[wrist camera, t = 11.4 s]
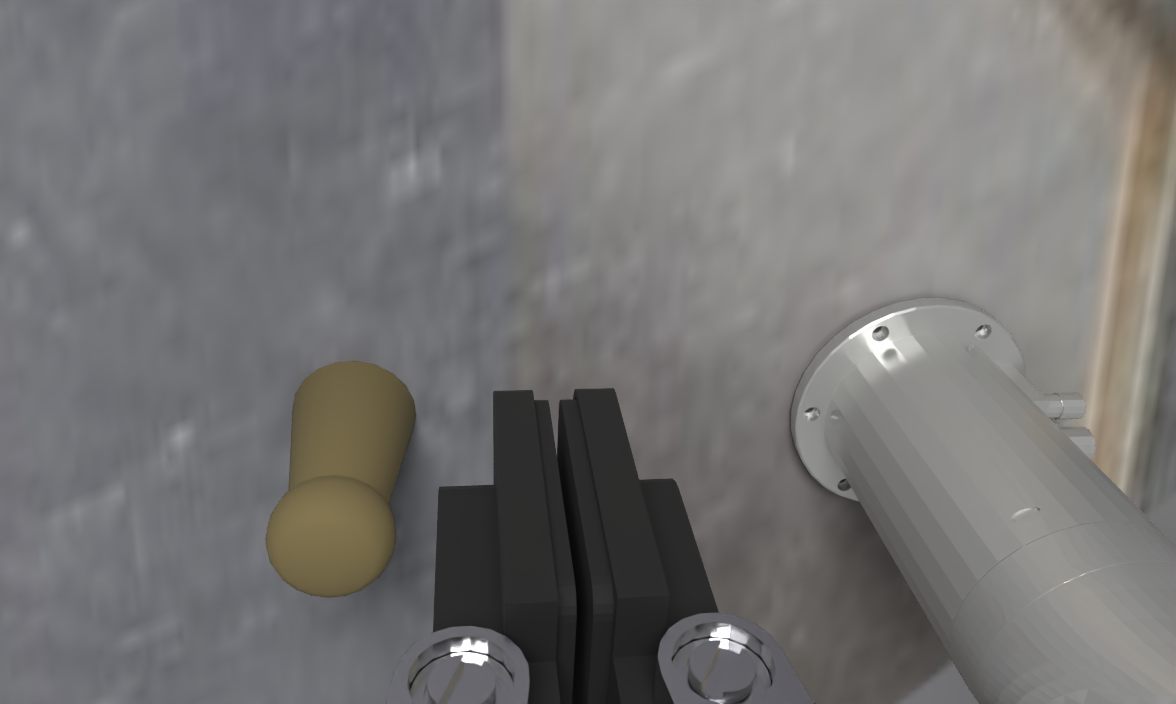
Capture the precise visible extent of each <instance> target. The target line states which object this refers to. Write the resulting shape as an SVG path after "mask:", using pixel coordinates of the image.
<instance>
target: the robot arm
mask: <svg viewBox="0 0 1176 704" xmlns="http://www.w3.org/2000/svg"><path fill="white" fill-rule="evenodd" d="M1085 411H1086V403H1085V399H1084V397H1083V396H1082V394H1079V393H1077V392H1076V393H1054V394H1046V395H1042V393H1041V392H1040V391H1038V390H1037V389H1036V388H1035V387H1034V386H1033V385H1032V384H1031V383H1030V382H1029V381H1028V380H1027V379H1026V376H1025V364H1024V361H1023V358H1022V354H1021V351H1020V348H1019V347H1018V345H1017V344H1016V342H1015V340H1014V339H1013V337H1012V336H1011V334H1010V333H1009V332H1008V331H1007V330H1006V329H1005V328H1004V327H1003V326H1002V325H1001V324H1000V323H999V322H998V321H997V320H996V319H994V318H993V317H991V316H990V315H989V314H987V313H986V312H985V311H983V310H982V309H980V308H977V307H975V306H972V305H970V304H968V303H965V302H962V301H956V300H951V299H945V298H919V299H914V300H908V301H903V302H898V303H895V304H892V305H889V306H886V307H883V308H881V309H878V310H875V311H873V312H871V313H869V314H867V315H866V316H864V317H862V318H860V319H858V320H856V321H854V322H853V323H851V324H850V325H849V326H847V327H846V328H845V329H843V330H842V331H841V332H839V333H838V334H837V335H835V336H834V337H833V338H832V339H831V340H830V341H829V342H828V343H827V344H826V345H825V346H824V347H823V348H822V349H821V350H820V351H819V352H818V353H817V355H816V356H815V358H814V359H813V361H812V362H811V363H810V365H809V366H808V368H807V369H806V371H805V372H804V374H803V376H802V379H801V381H800V383H799V385H798V387H797V389H796V392H795V396H794V400H793V404H792V409H791V432H792V436H793V441H794V445H795V447H796V449H797V452H798V454H799V456H800V458H801V460H802V462H803V463H804V465H805V467H806V468H807V470H808V471H809V473H810V474H811V476H812V477H814V478H815V479H816V480H817V481H818V482H819V483H820V484H821V485H822V486H823V487H825V488H826V489H828V490H830V491H831V492H833V493H835V494H837V495H839V496H842V497H845V498H848V499H851V500H855V501H859V502H860V504H861V505H862V507H863V509H864V510H865V512H866V514H867V515H868V517H869V519H870V521H871V522H872V524H873V526H874V527H875V529H876V531H877V533H878V534H879V536H880V538H881V539H882V541H883V543H884V545H885V546H886V548H887V550H888V551H889V553H890V555H891V556H892V558H893V560H894V562H895V563H896V565H897V567H898V568H899V570H900V572H901V574H902V575H903V577H904V579H905V580H906V582H907V584H908V586H909V587H910V589H911V591H912V592H913V594H914V596H915V598H916V599H917V601H918V603H919V604H920V606H921V608H922V609H923V611H924V613H925V615H926V616H927V618H928V620H929V621H930V623H931V625H932V627H933V628H934V630H935V632H936V633H937V635H938V637H939V639H940V640H941V642H942V644H943V645H944V647H945V649H946V650H947V652H948V654H949V656H950V657H951V659H952V661H953V662H954V664H955V666H956V668H957V669H958V671H959V673H960V675H961V676H962V678H963V680H964V681H965V683H966V685H967V686H968V688H969V690H970V691H971V693H972V694H973V695H974V697H975V698H976V700H977V701H978V702H979V704H1176V546H1175V544H1174V543H1173V542H1172V541H1171V540H1169V538H1168V537H1166V536H1165V534H1164V533H1163V532H1162V531H1161V530H1160V529H1159V528H1158V527H1157V526H1156V525H1155V524H1154V523H1153V522H1152V521H1151V520H1150V519H1149V518H1148V517H1147V516H1146V515H1145V514H1144V513H1143V512H1142V511H1141V510H1140V509H1139V508H1138V507H1137V506H1136V505H1135V504H1134V503H1133V502H1132V501H1131V500H1130V499H1129V498H1128V497H1127V496H1126V495H1125V494H1124V493H1123V492H1122V491H1121V490H1120V489H1119V488H1118V487H1117V486H1116V485H1115V484H1114V483H1113V482H1112V481H1111V480H1110V479H1109V478H1108V477H1107V476H1106V475H1105V474H1104V473H1103V472H1102V471H1101V470H1100V469H1099V468H1098V467H1097V466H1096V465H1095V464H1094V463H1093V462H1092V461H1091V459H1092V458H1093V456H1094V454H1095V446H1096V444H1095V440H1094V436H1093V435H1092V433H1091V432H1090V430H1089V429H1087V428H1085V427H1058V426H1057V425H1056V424H1055V423H1054V422H1053V421H1052V420H1051V419H1050V418H1054V419H1079V418H1082V417H1083V415H1084V414H1085ZM493 444H494V485H478V486H449V487H439V495H438V520H437V545H436V571H435V597H434V622H433V633H431V634H429V635H427V636H426V637H424V638H422V639H421V640H419V641H417V642H416V643H414V644H413V645H412V646H411V647H410V649H409V650H408V651H407V652H406V653H405V654H404V655H403V656H402V657H401V659H400V661H399V663H398V665H397V667H396V670H395V672H394V674H393V678H392V681H391V685H390V689H389V693H388V696H387V700H386V704H815V703H814V702H813V701H812V699H811V697H810V696H809V694H808V692H807V690H806V689H805V687H804V685H803V683H802V682H801V680H800V678H799V677H798V675H797V673H796V671H795V670H794V668H793V666H792V665H791V663H790V661H789V659H788V658H787V656H786V654H785V652H784V651H783V649H782V648H781V647H780V646H779V644H778V643H777V642H776V640H775V639H774V638H773V637H772V636H771V635H770V634H769V633H767V632H766V631H765V630H763V629H762V628H761V627H759V626H758V625H757V624H755V623H752V622H750V621H748V620H745V619H743V618H741V617H738V616H734V615H729V614H723V613H719V612H718V609H717V606H716V603H715V600H714V596H713V593H712V590H711V587H710V584H709V581H708V578H707V575H706V572H705V569H704V566H703V562H702V559H701V556H700V553H699V550H698V547H697V544H696V541H695V538H694V535H693V532H692V528H691V525H690V522H689V519H688V516H687V513H686V510H685V507H684V504H683V501H682V498H681V494H680V491H679V488H678V486H677V484H676V481H674V480H673V479H649V480H639V478H638V474H637V470H636V467H635V463H634V459H633V455H632V452H631V448H630V444H629V440H628V437H627V433H626V429H625V425H624V422H623V418H622V414H621V411H620V407H619V403H618V399H617V396H616V392H615V390H614V389H613V388H607V389H575V391H574V396H573V400H560V403H559V420H558V446H557V455H556V449H555V442H554V435H553V428H552V421H551V414H550V408H549V402H548V400H534V396H533V391H532V390H517V391H494V392H493Z"/></svg>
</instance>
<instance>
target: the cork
mask: <svg viewBox="0 0 1176 704" xmlns="http://www.w3.org/2000/svg"><path fill="white" fill-rule="evenodd" d="M415 418H416V412H415V405H414V400H413V398H412V396H411V394H410V392H409V391H408V389H407V387H406V385H405V384H404V383H402V382H401V381H400V380H399V379H398V378H397V377H396V376H395V375H394V374H393V373H391V372H389V371H387V370H385V369H383V368H381V367H378V366H376V365H373V364H368V363H363V362H357V361H351V362H339V363H334V364H331V365H328V366H326V367H323V368H320V369H318V370H316V371H315V372H314V373H313V374H311V375H310V376H309V377H308V378H306V379H305V380H304V381H303V383H302V384H301V386H300V387H299V389H298V391H297V392H296V394H295V399H294V405H293V412H292V431H291V451H290V471H289V491H288V492H287V493H285V495H284V496H283V497H282V499H281V500H280V501H279V503H278V504H277V506H276V507H275V509H274V511H273V512H272V514H271V516H270V519H269V523H268V527H267V533H266V549H267V552H268V556H269V560H270V563H271V564H272V566H273V567H274V569H275V570H276V571H277V573H278V574H279V575H280V577H281V578H282V579H283V581H285V582H286V583H287V584H289V585H290V586H292V587H293V588H294V589H296V590H298V591H301V592H304V593H307V594H309V595H313V596H321V597H338V596H346V595H349V594H352V593H354V592H357V591H360V590H362V589H363V588H364V587H366V586H367V585H369V584H370V583H372V582H373V581H374V580H376V579H377V578H378V577H379V576H380V575H381V573H382V572H383V571H384V569H385V568H386V567H387V565H388V563H389V561H390V559H391V557H392V554H393V550H394V546H395V541H396V529H395V523H394V517H393V514H392V511H391V508H390V507H389V505H388V504H389V501H390V498H391V495H392V492H393V489H394V486H395V483H396V480H397V477H398V473H399V470H400V467H401V464H402V461H403V458H404V455H405V452H406V449H407V445H408V442H409V439H410V436H411V433H412V430H413V426H414V422H415Z"/></svg>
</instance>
